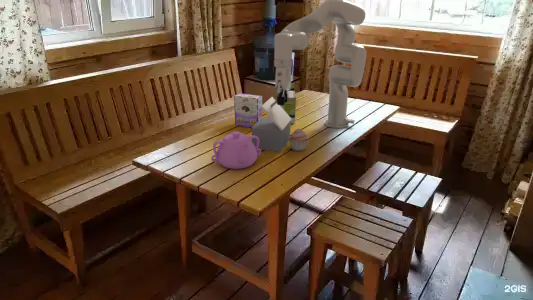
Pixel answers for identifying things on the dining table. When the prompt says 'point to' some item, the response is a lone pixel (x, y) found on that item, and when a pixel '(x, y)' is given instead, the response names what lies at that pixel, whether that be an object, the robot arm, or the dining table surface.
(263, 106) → the lid flap
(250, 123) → the candy box
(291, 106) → the tea box
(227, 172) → the dining table surface
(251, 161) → the purple round pot
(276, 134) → the carton
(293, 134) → the cupcake
